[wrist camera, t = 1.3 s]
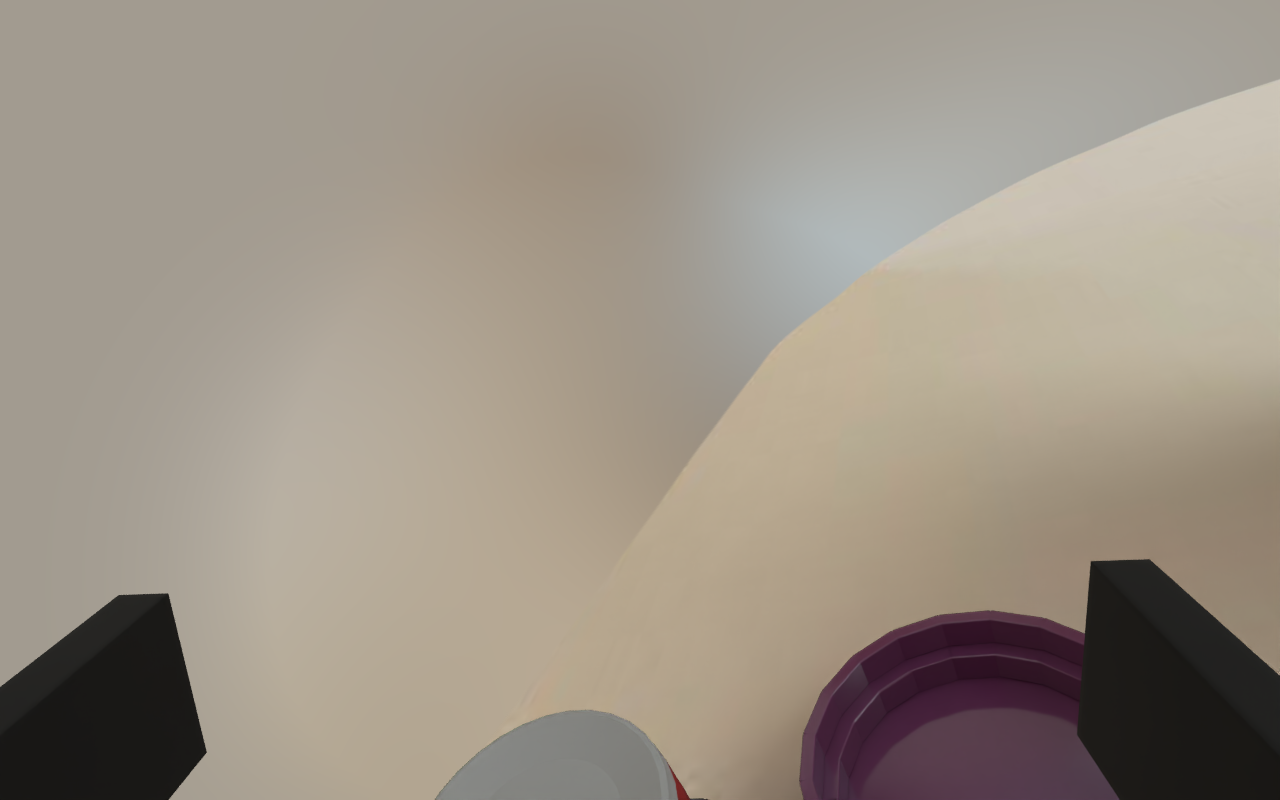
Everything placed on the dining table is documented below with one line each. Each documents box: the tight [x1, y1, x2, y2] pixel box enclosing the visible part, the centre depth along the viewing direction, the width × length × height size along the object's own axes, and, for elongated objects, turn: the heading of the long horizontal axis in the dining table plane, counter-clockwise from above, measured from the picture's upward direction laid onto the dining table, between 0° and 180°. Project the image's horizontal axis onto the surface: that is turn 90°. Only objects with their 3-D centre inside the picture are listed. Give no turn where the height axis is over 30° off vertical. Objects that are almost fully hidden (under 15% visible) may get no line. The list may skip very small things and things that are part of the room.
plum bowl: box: [799, 610, 1120, 800], centre depth 30 cm, size 12×12×3 cm
